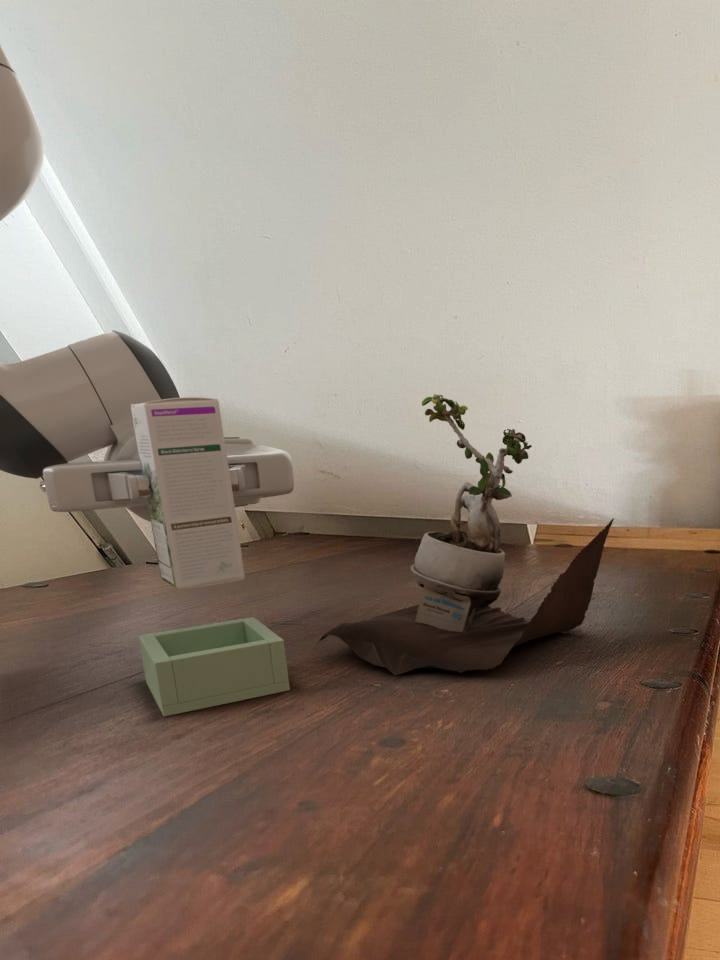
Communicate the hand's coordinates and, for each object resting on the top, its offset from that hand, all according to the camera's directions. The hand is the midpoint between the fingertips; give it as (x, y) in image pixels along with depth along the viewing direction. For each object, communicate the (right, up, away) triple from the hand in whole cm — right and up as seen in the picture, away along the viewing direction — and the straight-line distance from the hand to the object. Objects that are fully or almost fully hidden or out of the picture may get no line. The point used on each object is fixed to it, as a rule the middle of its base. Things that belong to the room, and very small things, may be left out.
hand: (190, 483), depth 61 cm
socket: (+1, -16, +3) cm, 17 cm away
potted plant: (+22, -13, +13) cm, 28 cm away
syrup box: (0, -8, +3) cm, 8 cm away
